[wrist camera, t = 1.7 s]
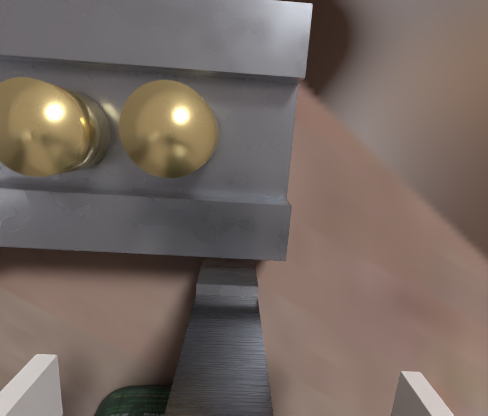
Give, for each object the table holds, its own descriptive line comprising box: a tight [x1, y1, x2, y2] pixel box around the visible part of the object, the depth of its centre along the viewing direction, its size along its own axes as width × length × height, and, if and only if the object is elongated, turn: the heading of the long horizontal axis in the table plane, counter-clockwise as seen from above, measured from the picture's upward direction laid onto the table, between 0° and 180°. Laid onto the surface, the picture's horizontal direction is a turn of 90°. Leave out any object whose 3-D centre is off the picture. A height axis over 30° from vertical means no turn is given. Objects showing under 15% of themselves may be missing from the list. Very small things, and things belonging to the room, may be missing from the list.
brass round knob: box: [119, 80, 219, 178], centre depth 14 cm, size 4×4×3 cm
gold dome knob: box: [0, 77, 110, 177], centre depth 13 cm, size 4×4×3 cm
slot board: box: [0, 0, 313, 261], centre depth 15 cm, size 16×12×4 cm
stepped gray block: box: [164, 257, 273, 416], centre depth 13 cm, size 3×4×13 cm
